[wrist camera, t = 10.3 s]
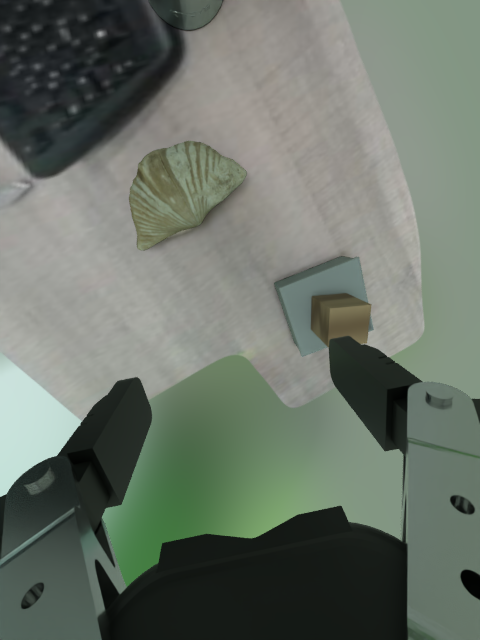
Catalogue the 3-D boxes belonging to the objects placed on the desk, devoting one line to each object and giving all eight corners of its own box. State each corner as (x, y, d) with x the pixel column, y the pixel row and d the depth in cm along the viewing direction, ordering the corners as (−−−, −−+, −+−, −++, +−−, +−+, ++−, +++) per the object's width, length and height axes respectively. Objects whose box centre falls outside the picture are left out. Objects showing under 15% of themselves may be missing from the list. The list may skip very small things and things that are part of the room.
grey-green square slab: (272, 281, 38) (279, 288, 33) (341, 254, 37) (358, 257, 33) (292, 343, 42) (302, 356, 37) (356, 318, 41) (373, 329, 37)
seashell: (153, 271, 31) (131, 200, 22) (119, 224, 33) (87, 145, 24) (243, 229, 36) (254, 158, 27) (207, 191, 38) (207, 116, 29)
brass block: (311, 296, 34) (329, 308, 28) (346, 293, 34) (371, 304, 29) (310, 329, 36) (327, 347, 30) (343, 326, 36) (366, 343, 30)
